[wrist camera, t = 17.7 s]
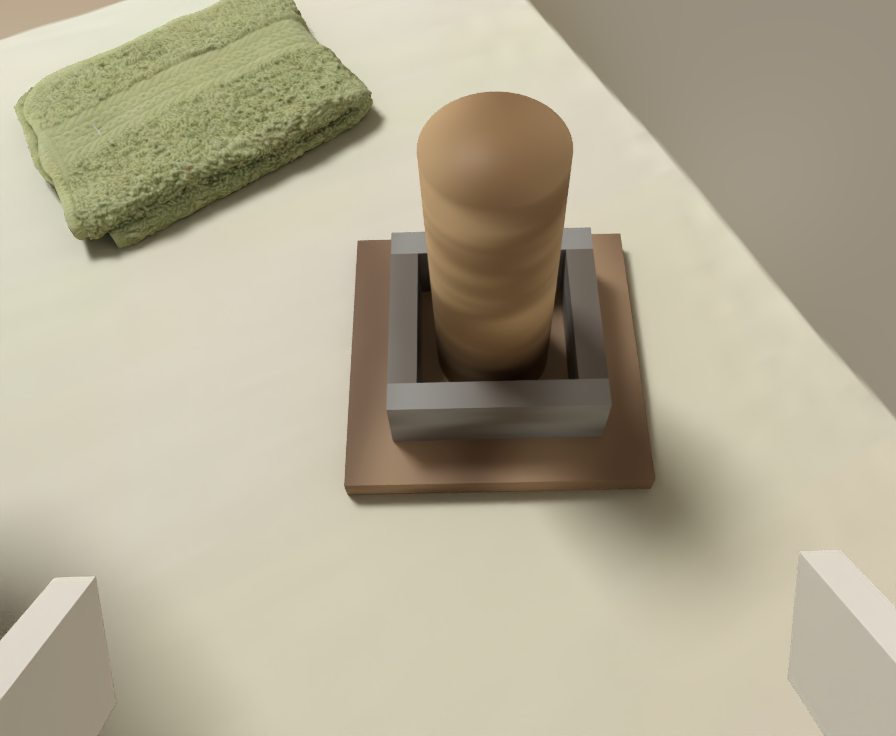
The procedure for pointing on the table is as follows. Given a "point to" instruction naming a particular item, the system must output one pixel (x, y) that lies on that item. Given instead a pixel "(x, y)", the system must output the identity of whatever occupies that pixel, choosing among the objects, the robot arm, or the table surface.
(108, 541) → the table surface
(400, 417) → the socket board
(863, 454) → the table surface
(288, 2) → the washcloth
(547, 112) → the oak pin
